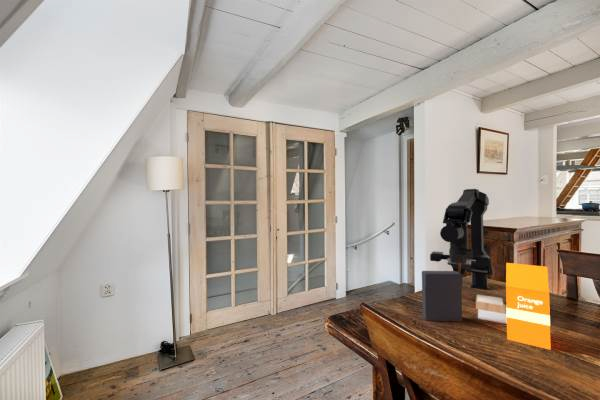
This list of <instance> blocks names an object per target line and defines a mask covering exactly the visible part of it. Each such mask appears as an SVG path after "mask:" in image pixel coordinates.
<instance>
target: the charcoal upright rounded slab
mask: <svg viewBox="0 0 600 400" xmlns="http://www.w3.org/2000/svg"><path fill="white" fill-rule="evenodd" d="M462 288H463V277H462V274H460V271H459V272H457V271H454V270H422V271H421V296H422V297H421V299H422V300H421V302H422V317H423V318H424V320H425V321H428V322H429V321H433V322H434V321H435V322H437V321H438V322H462V321H463V301H462V300H463V298H462V296H463V295H462V293H463V292H462V290H463V289H462Z"/></svg>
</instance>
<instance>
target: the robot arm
mask: <svg viewBox="0 0 600 400" xmlns="http://www.w3.org/2000/svg"><path fill="white" fill-rule="evenodd" d="M489 203H490V199H489V196H488V195H487V194H486V193H484V192H482V191H479V189H477V188H465V189H463V191H462V194H461V196H460V197H459V198H458V200H457V201H456V202H452V203H450V204H449V205H448V206H446V208H445V211H444V215H443V220H442V224H445V225H444V226H443V227H442V228H441V229H440V232H439V235H440V237H441V239H442V240H443V241H445V242H446V243H449V250H448V251H449V253H448V254H444V252H443V251H432V252H430V254H429V260H430V261H431V262H438V263H440V262H441V261H442V260H445V261H447V263H446V264H447V265H449V266H450V267H451V268H452V271H457V272H459V273H460V274H462V278H463V277H464V276H465V275H464V274H465V272H466V273H471V282H470V288H473V289H482V290H489V289H490V287H489V284H488V276H490V275H491V276H492V275H493V274H494V271H493V267H492V263H491V257H490V255H489V254H488V253H487V252H486V250H485V247H484V244H485V243H484V215H485V214H486V212H487V210H488V206H489V205H490V204H489ZM469 223H470V246H471V247H470V249H469V239H468V238H469V232H468V231H469V230H468V229H469V228H468V225H469ZM459 264H461V265H460V269H459Z"/></svg>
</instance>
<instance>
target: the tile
mask: <svg viewBox="0 0 600 400" xmlns="http://www.w3.org/2000/svg"><path fill="white" fill-rule="evenodd" d="M504 304H505V301H504V298H502V297H499V296H498V297H497V296H491V295H490V296H489V295H483V294H476V295H475V309H476V310H478V309H479V310H485V311H491V312H497V313H503V314H505V305H504Z"/></svg>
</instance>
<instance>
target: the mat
mask: <svg viewBox="0 0 600 400" xmlns="http://www.w3.org/2000/svg"><path fill="white" fill-rule="evenodd" d="M504 305H505V314H503V313H497V312H491V311H485V310H479V309H477V319H478V320H483V321H489V322H494V323H499V324H505V325H507V317H506V304H505V303H504Z"/></svg>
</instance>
